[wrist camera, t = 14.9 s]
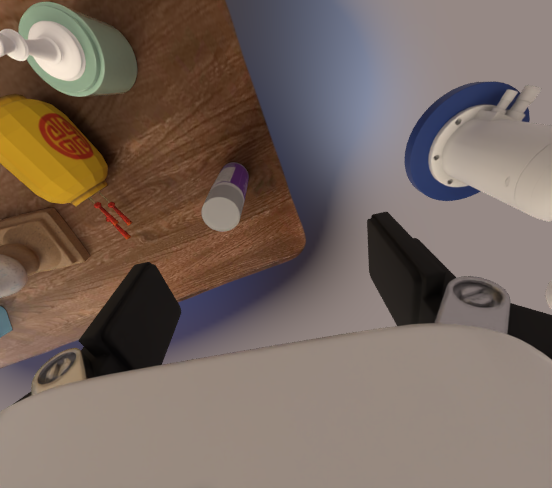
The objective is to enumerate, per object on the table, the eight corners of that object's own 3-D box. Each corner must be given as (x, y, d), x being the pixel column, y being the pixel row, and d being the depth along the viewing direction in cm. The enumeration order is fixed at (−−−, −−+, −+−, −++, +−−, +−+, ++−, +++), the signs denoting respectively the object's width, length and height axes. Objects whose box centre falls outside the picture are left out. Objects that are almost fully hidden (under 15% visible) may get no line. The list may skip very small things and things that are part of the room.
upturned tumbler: (69, 9, 31) (4, -17, 23) (138, 34, 33) (99, 18, 25) (75, 83, 35) (21, 82, 27) (136, 102, 37) (102, 107, 29)
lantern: (132, 245, 36) (-129, -8, 22) (94, 263, 40) (-146, 60, 26) (167, 209, 44) (-10, 5, 30) (132, 228, 48) (-37, 56, 34)
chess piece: (96, 72, 27) (18, 66, 19) (56, 87, 28) (-37, 87, 19) (63, 13, 25) (-44, -26, 16) (20, 31, 25) (-105, 3, 17)
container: (253, 184, 43) (247, 225, 31) (227, 193, 44) (211, 237, 31) (241, 157, 41) (230, 190, 28) (215, 168, 42) (192, 203, 29)
